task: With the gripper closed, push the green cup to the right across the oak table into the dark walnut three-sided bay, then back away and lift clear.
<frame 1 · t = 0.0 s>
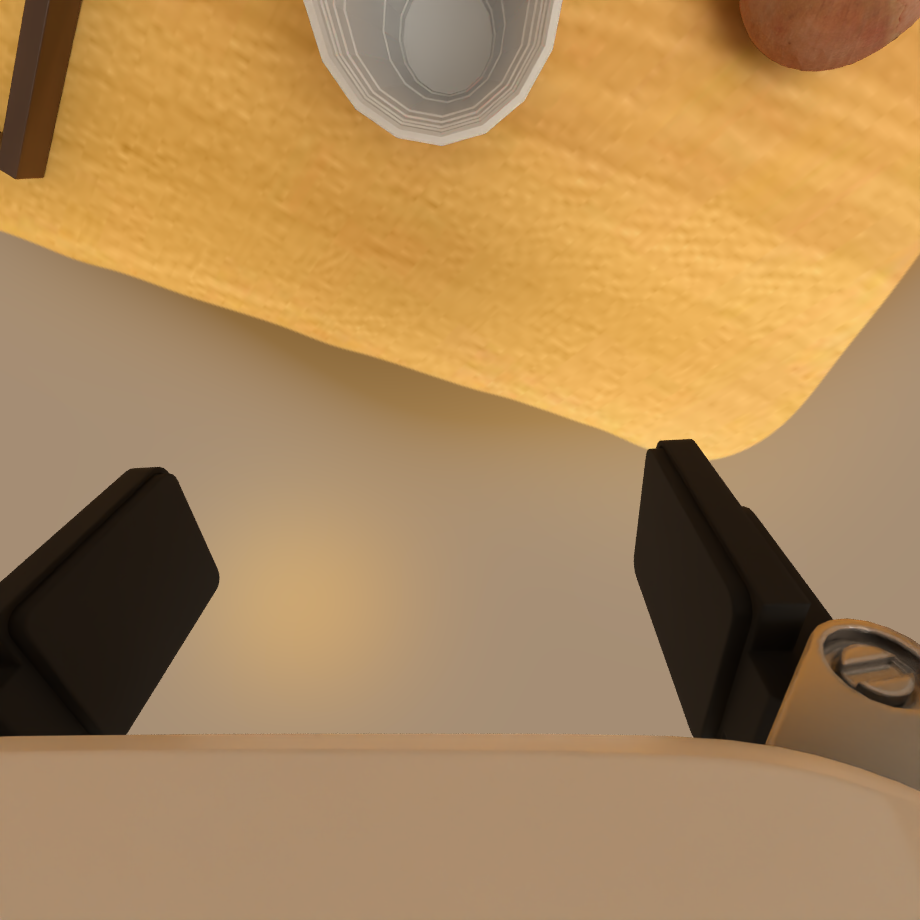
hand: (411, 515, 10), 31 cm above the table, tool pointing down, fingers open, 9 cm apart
plastic cup: (451, 43, 31), on the table
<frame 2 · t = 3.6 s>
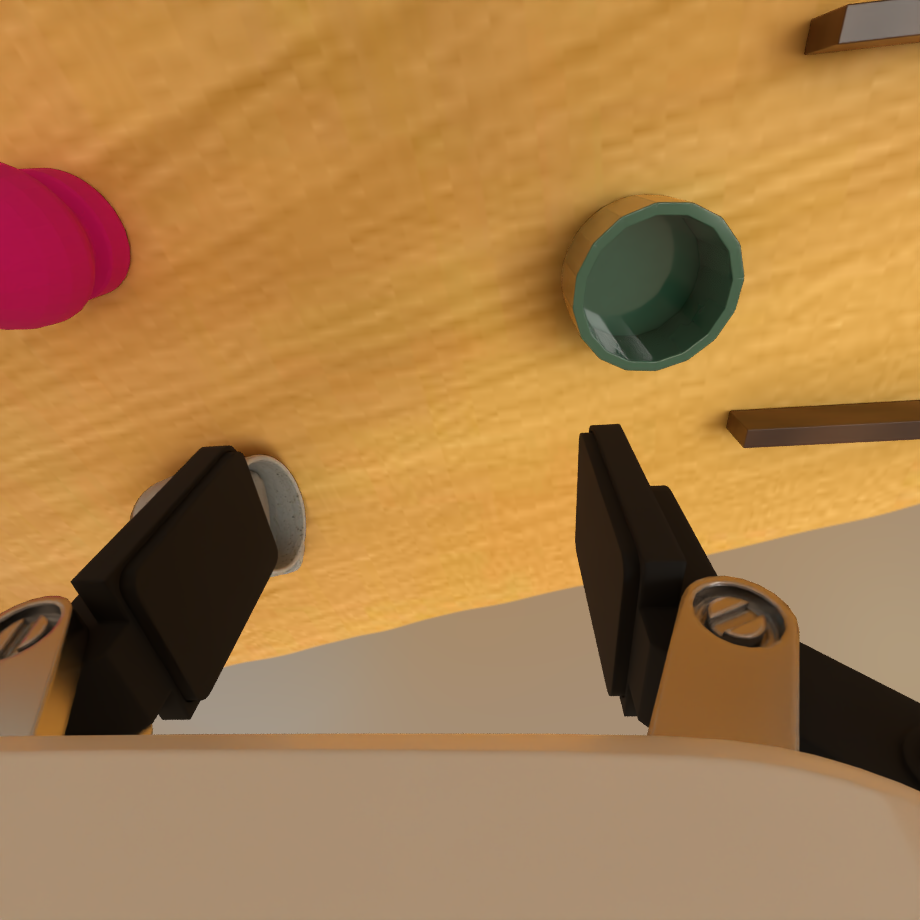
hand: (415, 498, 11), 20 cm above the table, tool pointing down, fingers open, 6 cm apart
ceramic mug: (258, 503, 36), on the table
green cup: (631, 273, 27), on the table
pepper mill: (74, 234, 27), on the table
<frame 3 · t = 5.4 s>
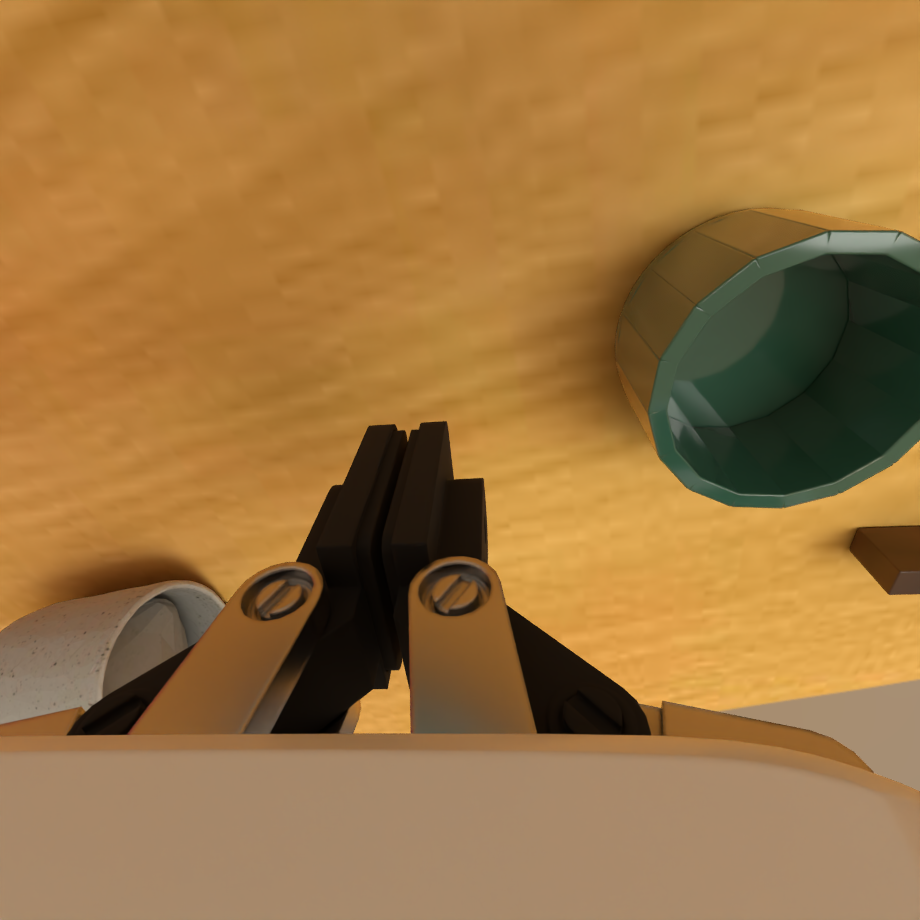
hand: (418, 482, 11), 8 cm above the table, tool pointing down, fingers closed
ceramic mug: (178, 625, 26), on the table
green cup: (730, 333, 17), on the table
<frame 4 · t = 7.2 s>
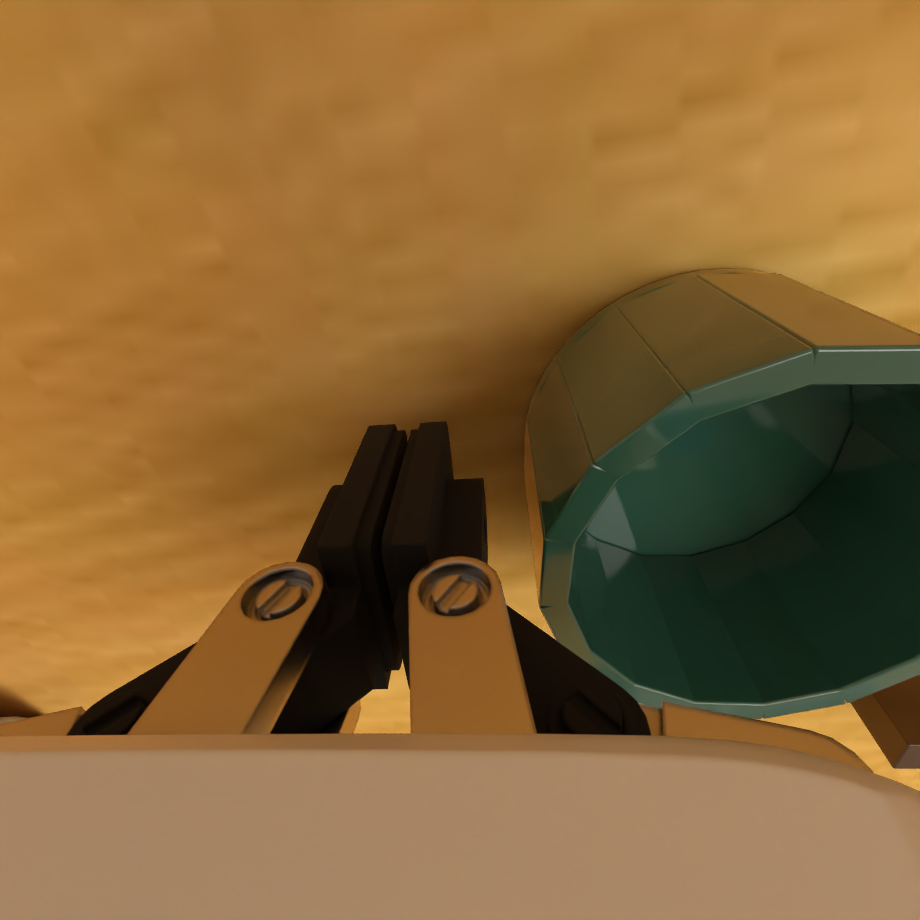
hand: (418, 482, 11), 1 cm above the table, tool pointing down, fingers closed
green cup: (684, 435, 12), on the table, touching gripper
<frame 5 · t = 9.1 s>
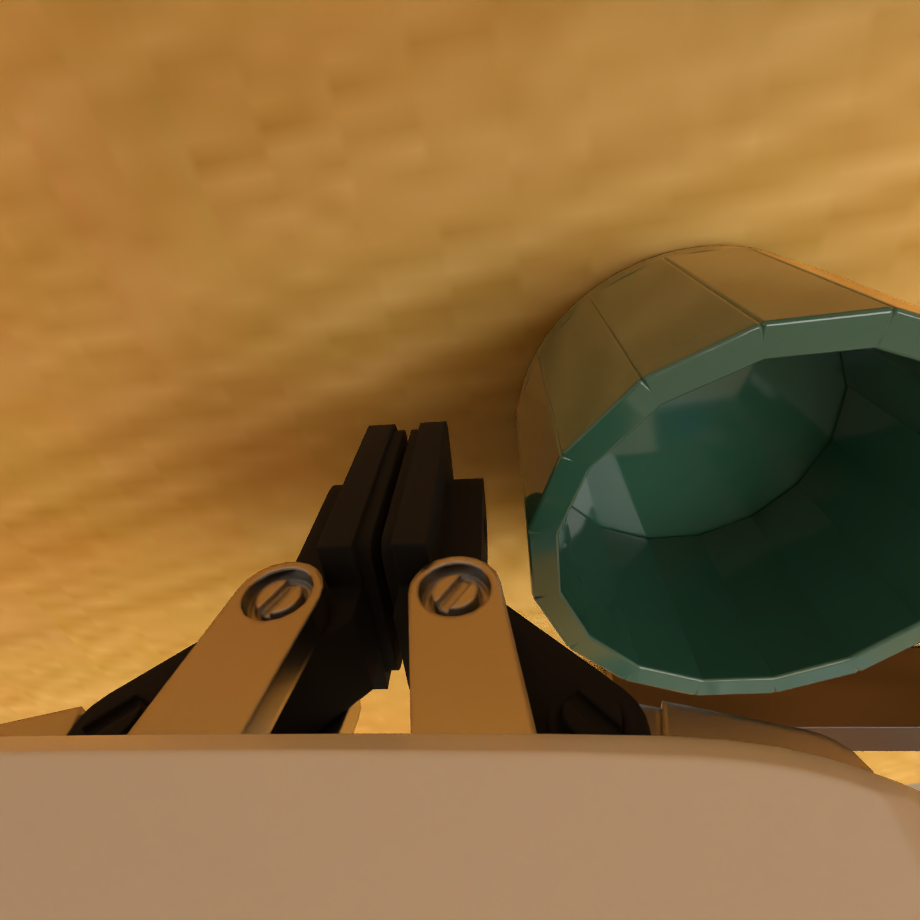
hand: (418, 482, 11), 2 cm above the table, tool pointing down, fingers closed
green cup: (677, 416, 12), on the table, touching gripper
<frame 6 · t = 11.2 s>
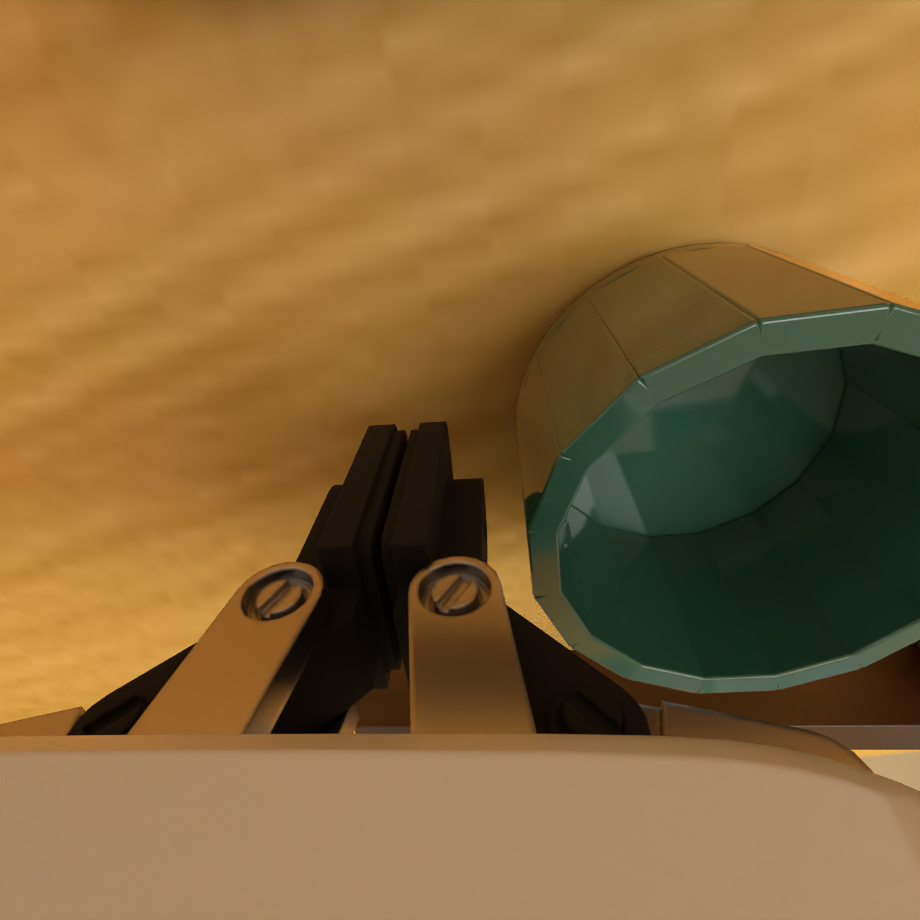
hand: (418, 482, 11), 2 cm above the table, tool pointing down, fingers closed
walnut bay: (660, 413, 12), on the table
green cup: (677, 414, 12), on the table, touching gripper
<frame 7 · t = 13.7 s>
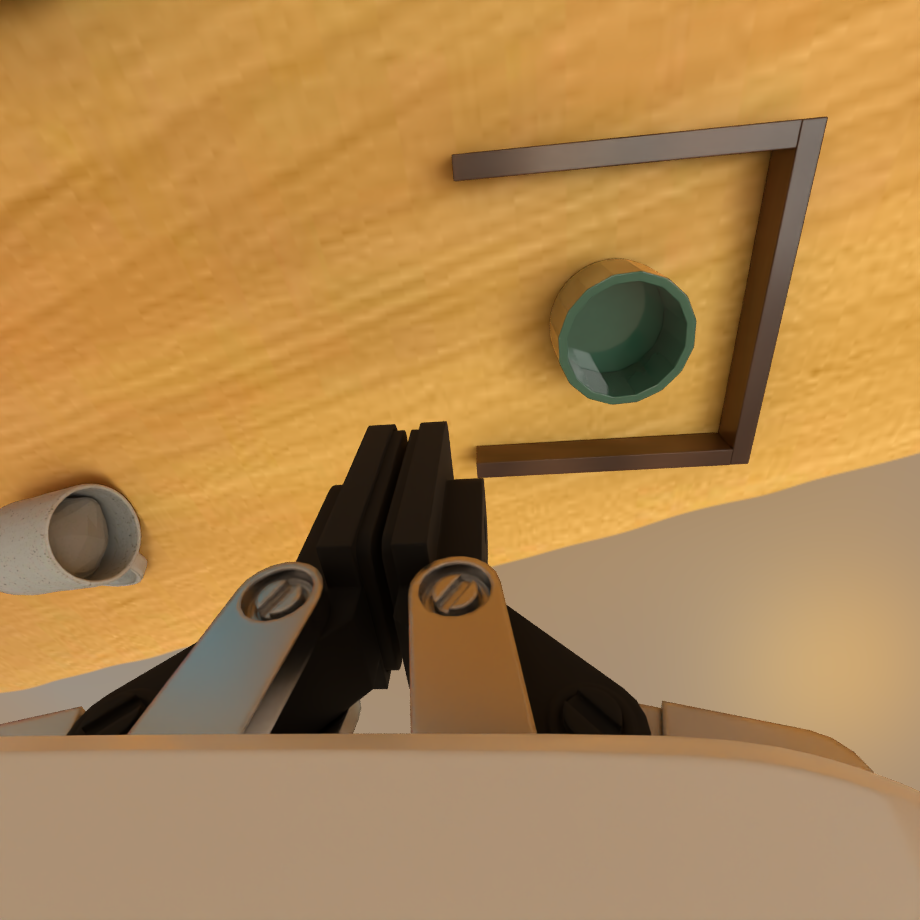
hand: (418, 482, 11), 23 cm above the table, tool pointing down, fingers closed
walnut bay: (601, 320, 32), on the table
ceramic mug: (104, 523, 42), on the table
green cup: (608, 320, 32), on the table
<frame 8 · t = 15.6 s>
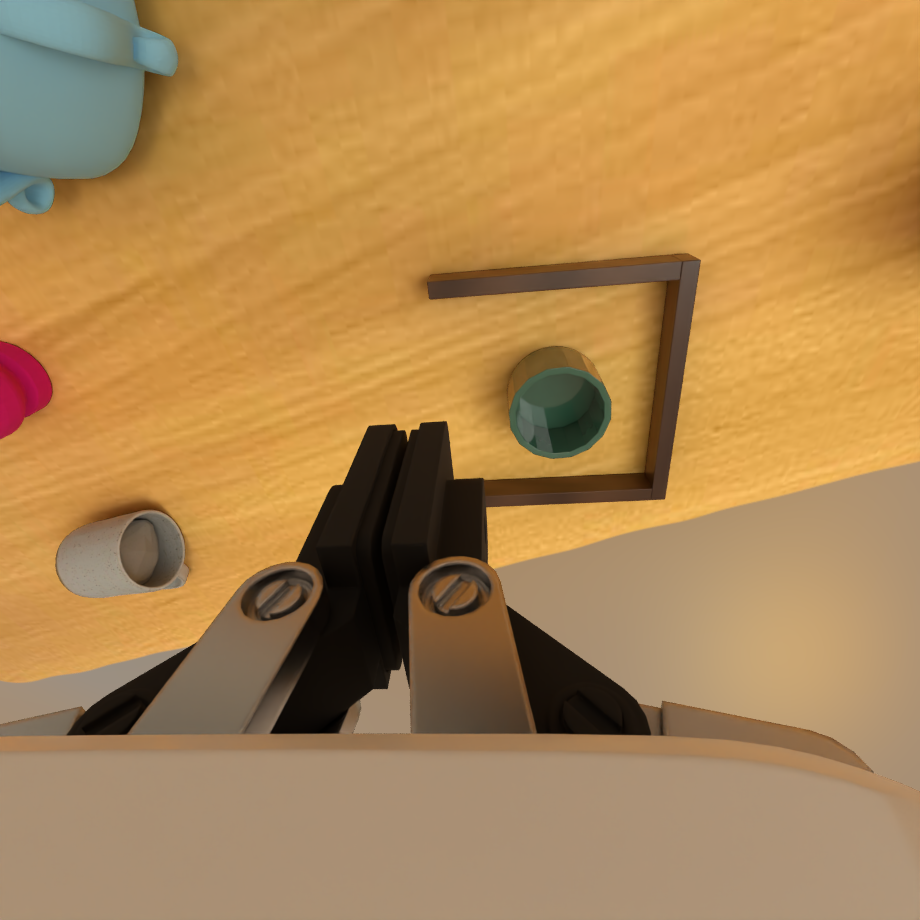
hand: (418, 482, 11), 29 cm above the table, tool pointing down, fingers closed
walnut bay: (547, 390, 41), on the table
ceramic mug: (154, 538, 52), on the table
green cup: (553, 390, 41), on the table
pepper mill: (16, 375, 43), on the table
decorative pot: (47, 28, 31), on the table
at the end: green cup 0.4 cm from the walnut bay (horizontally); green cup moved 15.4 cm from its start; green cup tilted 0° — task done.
